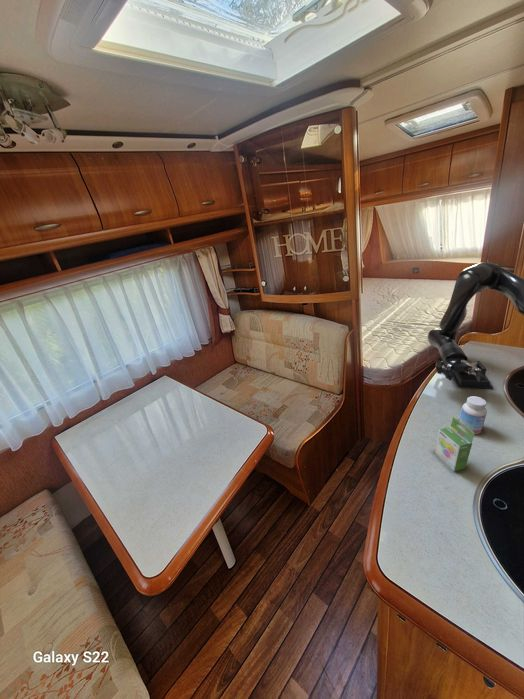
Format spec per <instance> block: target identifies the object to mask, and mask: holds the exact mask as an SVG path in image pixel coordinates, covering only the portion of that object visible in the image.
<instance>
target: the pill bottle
mask: <svg viewBox="0 0 524 699" xmlns="http://www.w3.org/2000/svg"><path fill="white" fill-rule="evenodd" d="M486 405H487V401H486V400H485V399H484V398H482V397H480V396H476V395H470V396H468V397H467V399H466V402H464V403H463V404H462V407H461V411H460V415H459V419H458V421H460V422H461V423H462V424H464V425H465V426H466V427H468V428H469V429H470V430H472V431H473V432H474V433H475V435H478V434H479V435H480V434H481V433H482V432H483V427H484V424H485V421H486V417H487V414H488V409H487V407H486ZM457 426H458V427H459V428H460V429H462V430H463V431H464V432H465V433H467V434H468V432H467V431H466V430H465V429H464V428H463V427H462V426H460V425H458V424H457Z"/></svg>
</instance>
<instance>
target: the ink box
mask: <svg viewBox="0 0 524 699" xmlns="http://www.w3.org/2000/svg"><path fill="white" fill-rule="evenodd" d="M458 425H460V426H462V427H463V428H464V429H465V430H466V431H467V432H468V433H467V432H465V431H463V430H462V429H460V428H459V426H458ZM475 435H476V434H475V433H474V432H473V431H472V430H470V429H469V428H468V427H466V426H465V425H464V424H462V423H461V422H460V421H459V419H457V418H456V417H455V416H452V420H451V424H450V426H446V427H444V428H443V427H442V428H440V429H439V430H438V434H437V440H436V441H437V442H436V448H435V455H436V456H437V457H438V458H439V459H440V460H441V461H442V462H443V463H444V464H445V465H446V466H447V467H448V468H449V469H450V470H451V471H452V472H453V473H454V472H457V471H461V470H465V469H466V468H467V464H468V461H469V456H470V453H471V449H472V446H473V440H474V437H475Z"/></svg>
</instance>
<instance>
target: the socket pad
mask: <svg viewBox="0 0 524 699" xmlns="http://www.w3.org/2000/svg"><path fill="white" fill-rule="evenodd" d="M468 370H470V369H468ZM474 372H476V370H474ZM451 373H452V380H453V381H454V383H455V385H456V387H457V388H458V389H459V388H461V389H477V390H494V387H493V386H492V384H491V381H490V379H489V378H488V377H487V376H486V375H487V374H485V376H484V379H483V381H482V382H479V381H478V380H477V378H476V377H475V375H473V374H468V373H466V372H460V371H458V372H455V371H453V372H451Z"/></svg>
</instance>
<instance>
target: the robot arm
mask: <svg viewBox="0 0 524 699" xmlns="http://www.w3.org/2000/svg"><path fill="white" fill-rule="evenodd" d="M487 289H489V290H493V291H496V292H497V293H499V294H502V295H503V296H506V297H507V298H508V299H509V300H510V301H511V303H512V305H513V306H514V308H515V309H516V311H517V312H518V313H519V314H521V315H522V316H523V317H524V277H522V276H518V274H515V273H513V272H511V271H509V270H508V269H505V268H504V267H502V266H500V265H498V264H496V263H493V262H489V261H483V262H479V263H476V264H474V265H472V266H469V267H466V268H464V269H463V270H462V271H461V272H460V273H459V274H458V276H457V278H456V281H455V283H454V287H453V291H452V293H451V297H450V300H449V303H448V306H447V309H446V310H445V311H444V314H443V316H442V318H441V319H440V321H439V325H438V326H439V328H433V329H431V330H430V331H429V332H428V333H427V342H428V343H429V345H430V346H432V347H433V348H434V349H436V350H437V351H438V354H439V358H440V359H441V360H442V361H441V360H440V359H436V360H435V365H434V366H435V370H436V373H437V374H439V375H441V374H443V376H445V379H448V381H452V380H453V377H452V373H451V372H454V371H455V372H458V371H460V372H466V373H468V374H473V375H475V377H476V378H477V380H478V381H479V382H482V381H483V379H484V376H485V375H486V373H487V371H488V368H487V367H486V366H485V365H484V364H483V363H482V362H481V361H480V360H476V362H471V361H470V360H469V359H468V356H467V355H466V353H465V352H464V350H463V349H462V347H461V346H460V345H459V344H458V342H457V338H458V332H459V329H460V327H461V325H462V324H463V322H464V321H465V319H466V317H467V313H468V310H467V307H468V304H469V302H470V300H472V298H473V297H474V296H475V295H476V294H477V293H481V292H484V291H485V290H487ZM443 366H444V367H443ZM468 369H470V370H468ZM474 370H476V372H474Z"/></svg>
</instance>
